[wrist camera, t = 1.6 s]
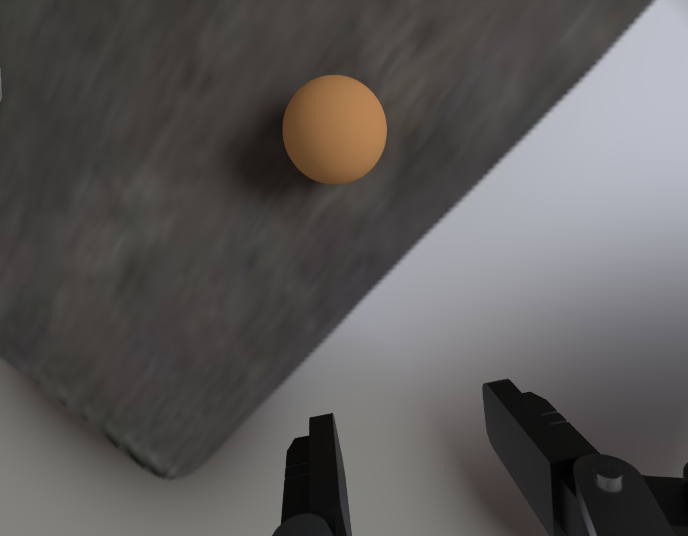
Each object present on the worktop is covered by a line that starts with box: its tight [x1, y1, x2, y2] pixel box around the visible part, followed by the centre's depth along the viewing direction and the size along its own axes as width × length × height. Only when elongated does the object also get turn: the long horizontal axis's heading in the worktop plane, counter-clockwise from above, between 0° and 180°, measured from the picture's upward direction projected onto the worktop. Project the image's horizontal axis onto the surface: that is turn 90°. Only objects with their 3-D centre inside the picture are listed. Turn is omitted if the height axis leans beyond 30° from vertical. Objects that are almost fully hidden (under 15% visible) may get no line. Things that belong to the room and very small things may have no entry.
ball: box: [283, 75, 387, 185], centre depth 22 cm, size 6×6×6 cm
